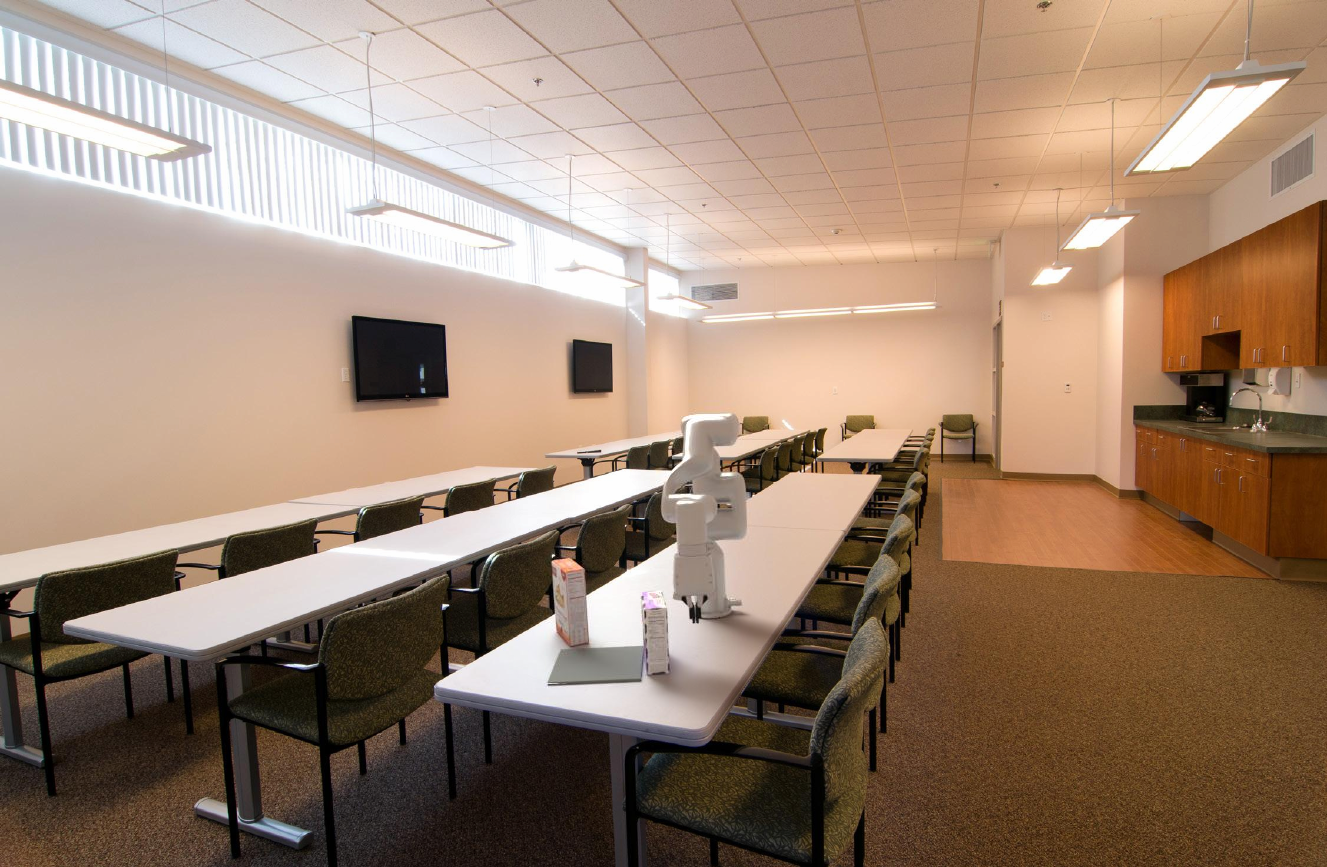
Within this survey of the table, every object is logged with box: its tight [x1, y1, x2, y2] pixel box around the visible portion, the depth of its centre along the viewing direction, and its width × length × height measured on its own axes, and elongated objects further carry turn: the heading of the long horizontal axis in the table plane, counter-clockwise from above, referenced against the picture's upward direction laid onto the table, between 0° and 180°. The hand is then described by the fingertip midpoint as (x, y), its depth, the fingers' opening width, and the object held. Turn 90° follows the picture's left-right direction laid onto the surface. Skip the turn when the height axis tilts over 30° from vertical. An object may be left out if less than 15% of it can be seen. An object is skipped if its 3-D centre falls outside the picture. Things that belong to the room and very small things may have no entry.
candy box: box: [640, 590, 670, 676], centre depth 167 cm, size 14×6×16 cm, turn 5°
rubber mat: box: [546, 645, 644, 684], centre depth 168 cm, size 22×20×1 cm
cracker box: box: [551, 557, 590, 647], centre depth 187 cm, size 14×6×21 cm, turn 24°
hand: (695, 621), depth 167 cm, fingers closed
